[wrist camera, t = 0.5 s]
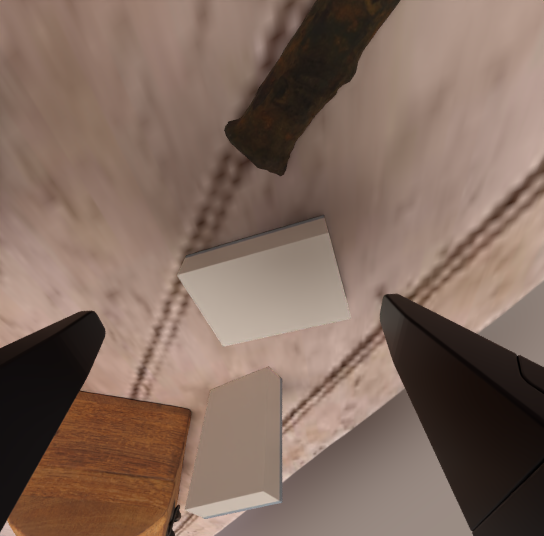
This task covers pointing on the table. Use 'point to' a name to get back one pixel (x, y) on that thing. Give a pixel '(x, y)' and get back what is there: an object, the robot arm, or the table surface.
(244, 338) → the flat tile
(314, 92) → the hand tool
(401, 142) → the table surface
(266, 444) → the white rectangular block
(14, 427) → the robot arm
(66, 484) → the wooden box
